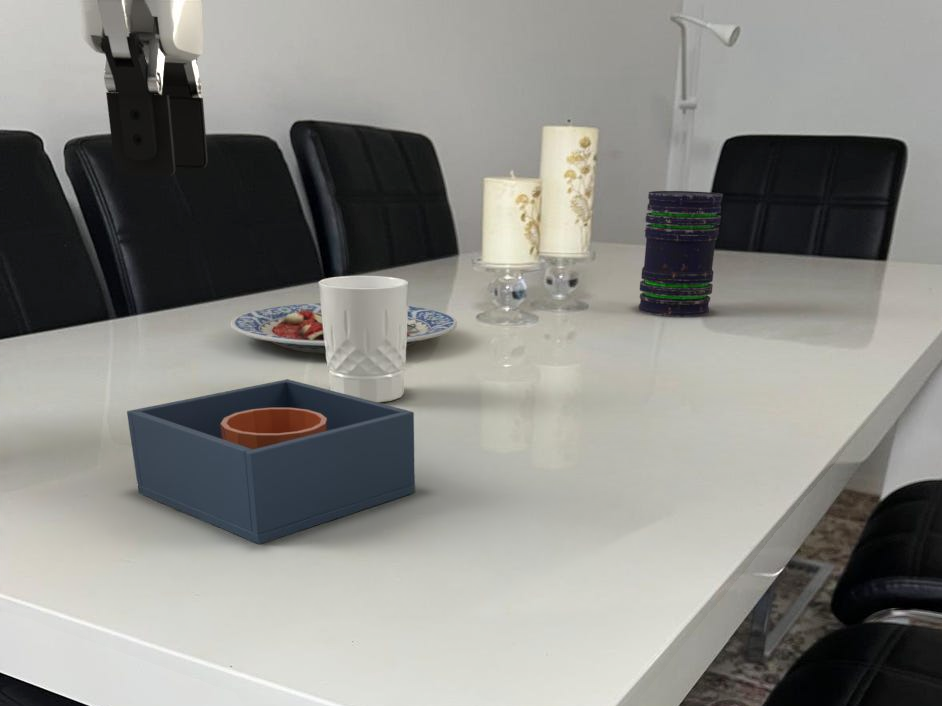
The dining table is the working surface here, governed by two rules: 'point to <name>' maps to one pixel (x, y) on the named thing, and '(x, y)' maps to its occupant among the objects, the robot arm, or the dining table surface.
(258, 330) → the ceramic plate
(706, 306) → the storage jar
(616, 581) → the dining table surface
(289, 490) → the bin
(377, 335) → the white cup
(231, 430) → the bowl
